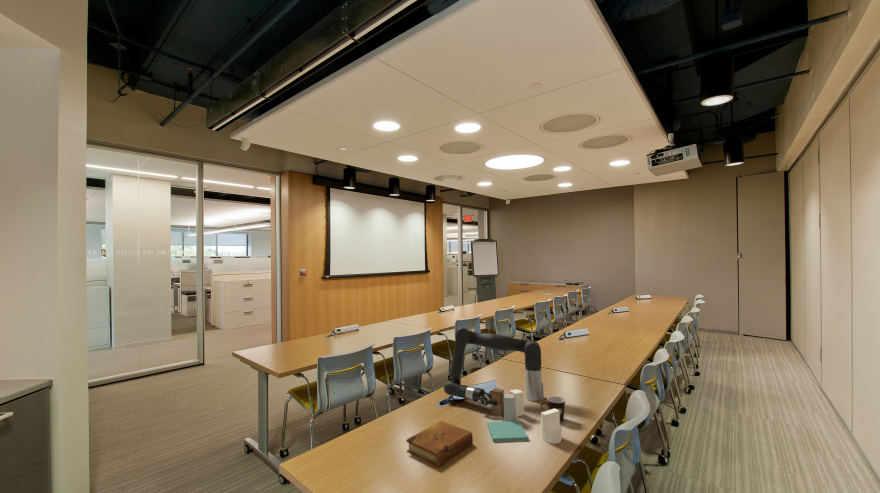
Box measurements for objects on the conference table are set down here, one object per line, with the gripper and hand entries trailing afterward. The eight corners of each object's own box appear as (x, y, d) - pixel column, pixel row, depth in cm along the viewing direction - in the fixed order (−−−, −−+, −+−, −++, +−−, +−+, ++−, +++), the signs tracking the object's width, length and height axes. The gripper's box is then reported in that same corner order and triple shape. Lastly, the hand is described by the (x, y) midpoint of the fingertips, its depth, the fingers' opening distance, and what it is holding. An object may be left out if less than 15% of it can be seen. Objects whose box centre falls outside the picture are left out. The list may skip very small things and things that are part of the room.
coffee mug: (566, 417, 180) (565, 397, 180) (565, 424, 172) (564, 403, 172) (543, 413, 185) (542, 394, 185) (540, 420, 177) (540, 400, 177)
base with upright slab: (551, 445, 153) (550, 417, 154) (536, 436, 161) (535, 410, 162) (566, 440, 157) (564, 413, 158) (551, 431, 165) (550, 406, 166)
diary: (438, 469, 139) (438, 454, 139) (406, 453, 152) (406, 439, 152) (472, 445, 156) (472, 432, 156) (441, 432, 169) (441, 420, 169)
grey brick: (505, 417, 182) (504, 393, 183) (515, 418, 180) (514, 394, 181) (504, 421, 177) (503, 397, 178) (514, 422, 176) (513, 398, 176)
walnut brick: (496, 409, 191) (495, 387, 192) (504, 412, 188) (503, 389, 188) (491, 413, 187) (491, 390, 188) (500, 415, 184) (499, 392, 185)
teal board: (519, 424, 174) (519, 420, 174) (528, 440, 158) (527, 437, 158) (487, 425, 173) (487, 422, 173) (493, 441, 157) (492, 438, 158)
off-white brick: (517, 411, 188) (516, 388, 189) (523, 414, 184) (522, 391, 184) (510, 413, 186) (509, 390, 187) (516, 417, 182) (515, 393, 182)
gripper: (468, 391, 191) (494, 398, 181) (481, 384, 203) (506, 389, 192) (468, 405, 191) (494, 412, 181) (482, 397, 202) (507, 403, 192)
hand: (500, 400), depth 187 cm, fingers open, 8 cm apart
